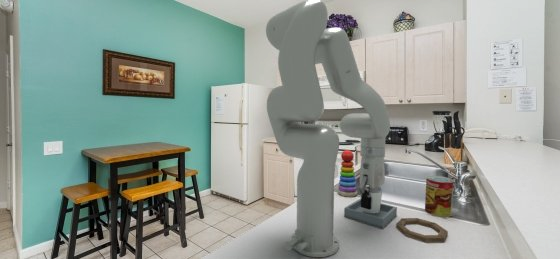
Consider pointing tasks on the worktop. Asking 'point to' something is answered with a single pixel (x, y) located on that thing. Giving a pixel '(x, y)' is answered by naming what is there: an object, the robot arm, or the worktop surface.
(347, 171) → the stacking toy
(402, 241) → the worktop surface
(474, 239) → the worktop surface
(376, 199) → the white cylinder
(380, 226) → the tray
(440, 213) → the canned food
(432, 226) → the coaster ring
